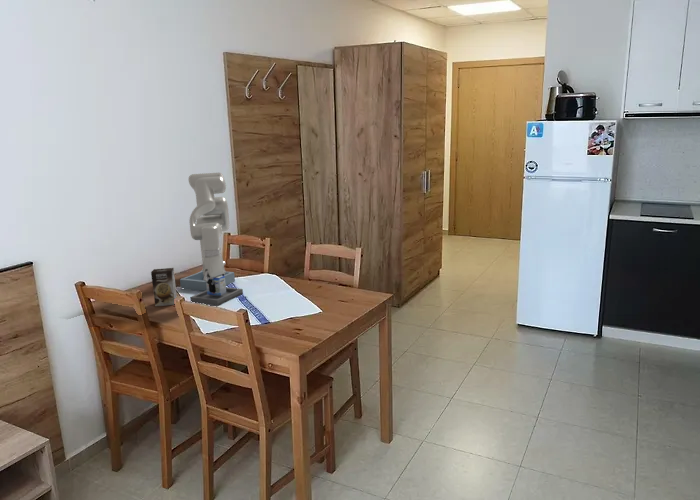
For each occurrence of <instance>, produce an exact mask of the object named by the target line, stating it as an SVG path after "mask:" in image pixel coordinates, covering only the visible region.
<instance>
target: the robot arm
mask: <svg viewBox="0 0 700 500" xmlns="http://www.w3.org/2000/svg"><path fill="white" fill-rule="evenodd" d="M188 183H189V186H190V187H191V188H192V189H193V191H194V193H195V201H196V206H195V207H194V208H193V210H192V211H191V214H190V215H189V216H190V217H189V219H188V220H189V231H190V237H191V238H192V239H193V240H194V241H199V244H200V245H199V246H200V252H201V259H202V260H201V261H202V269H201V270H200V272H201V271H203V276H204V279H203V280H204V281H206V282H207V283H208V284H209V291H210V292H212V293H215V292H216V290H215V284H214V278H215V277H217V276H224V274H225V273H226V272H227V270H226V269H225V265H226V261H224V258H223V256H222V252H221V242H220V237H221V236H222V234H223V232H227V231H229V230H230V216H229V215H230V214H229V213H230V212H229V204H228V201H227V199H226V198H225V197H224V196H216V197H215V195H218V194H224V193H225V192H226V188H227V187H226V186H227V185H226V179H225V177H224V175H223V173H221V172H207V173H206V172H203V173H194V174H190V175H189V177H188ZM210 279H211V280H210Z"/></svg>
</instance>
